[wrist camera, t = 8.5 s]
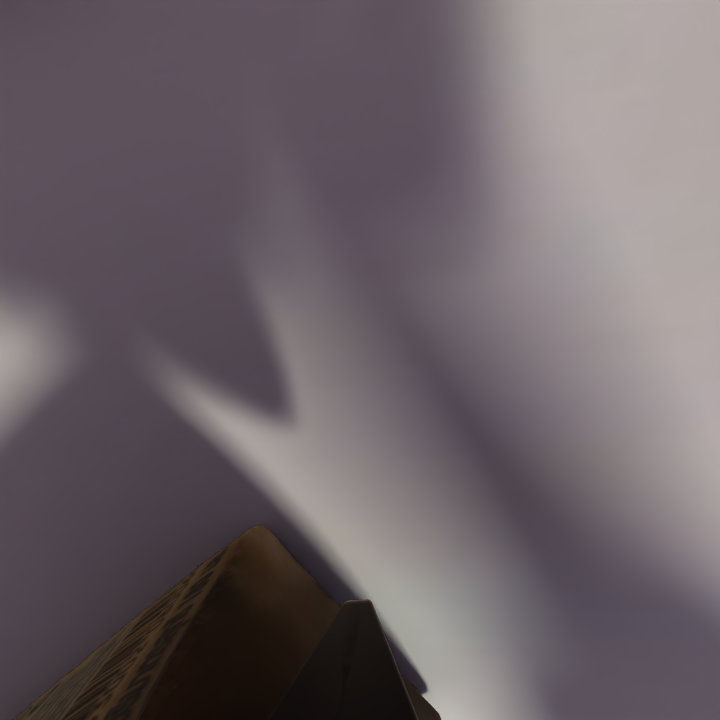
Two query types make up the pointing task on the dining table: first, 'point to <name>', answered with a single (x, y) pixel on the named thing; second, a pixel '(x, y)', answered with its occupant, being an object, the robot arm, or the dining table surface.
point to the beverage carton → (208, 645)
